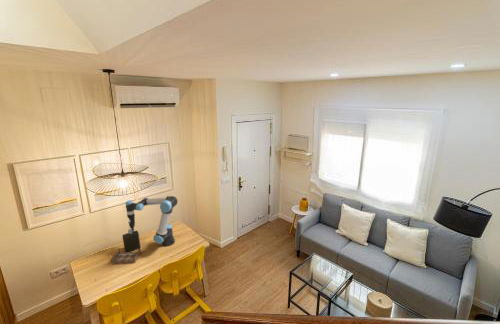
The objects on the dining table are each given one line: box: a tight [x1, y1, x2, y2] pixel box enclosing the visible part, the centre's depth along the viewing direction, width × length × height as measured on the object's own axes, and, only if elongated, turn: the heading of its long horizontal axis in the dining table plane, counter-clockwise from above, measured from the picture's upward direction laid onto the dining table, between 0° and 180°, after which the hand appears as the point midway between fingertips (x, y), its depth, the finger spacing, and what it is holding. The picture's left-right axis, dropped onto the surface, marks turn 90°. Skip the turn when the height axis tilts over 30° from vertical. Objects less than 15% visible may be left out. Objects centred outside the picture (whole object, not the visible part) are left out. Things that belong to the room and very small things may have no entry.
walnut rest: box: [110, 248, 142, 265], centre depth 262 cm, size 24×18×5 cm
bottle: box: [122, 228, 141, 252], centre depth 275 cm, size 8×16×25 cm, turn 128°
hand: (133, 232), depth 281 cm, fingers closed
